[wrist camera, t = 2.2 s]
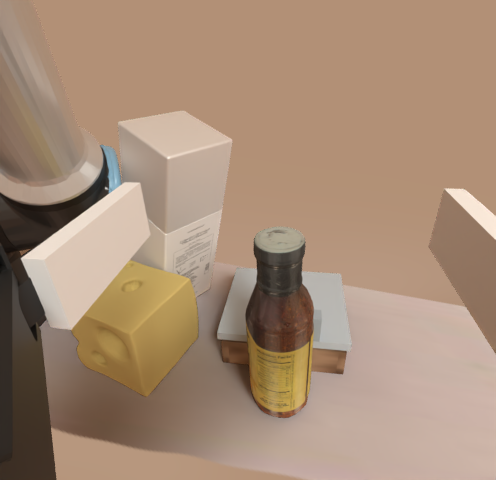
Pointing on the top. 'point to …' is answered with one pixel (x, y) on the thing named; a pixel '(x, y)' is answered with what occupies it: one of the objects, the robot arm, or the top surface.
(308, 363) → the sauce bottle
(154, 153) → the tall white carton
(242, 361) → the brown flat block
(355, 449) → the top surface
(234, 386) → the top surface
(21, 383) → the robot arm
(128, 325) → the cheese
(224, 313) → the lid
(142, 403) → the top surface
